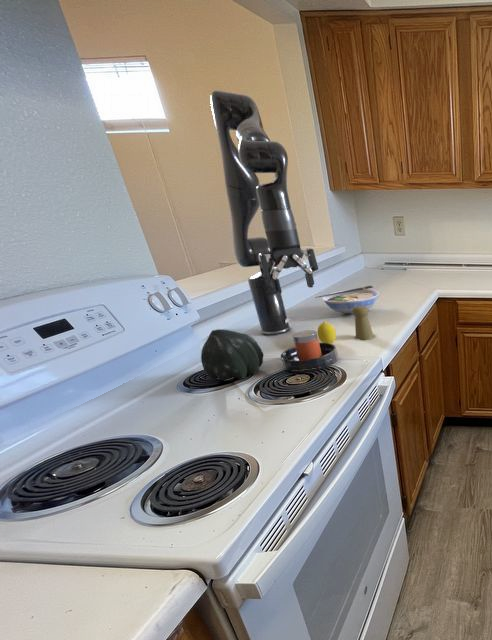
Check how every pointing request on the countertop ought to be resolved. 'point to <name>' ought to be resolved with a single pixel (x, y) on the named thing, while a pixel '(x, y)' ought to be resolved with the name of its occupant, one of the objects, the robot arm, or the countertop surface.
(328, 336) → the lemon
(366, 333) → the olive flared column
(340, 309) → the ramen bowl
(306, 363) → the pan
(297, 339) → the can
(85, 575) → the countertop surface
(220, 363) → the squash
